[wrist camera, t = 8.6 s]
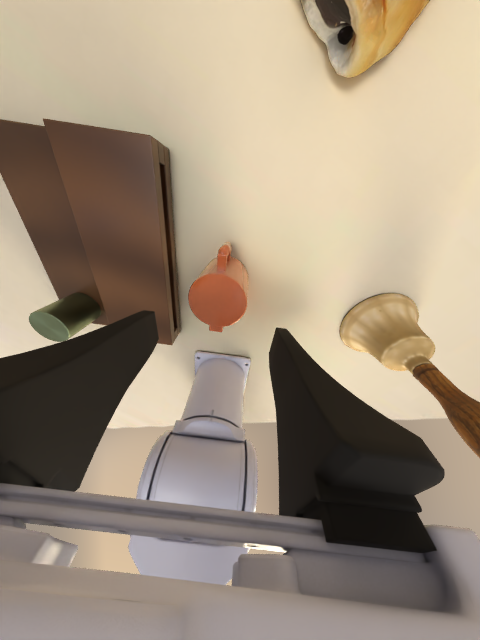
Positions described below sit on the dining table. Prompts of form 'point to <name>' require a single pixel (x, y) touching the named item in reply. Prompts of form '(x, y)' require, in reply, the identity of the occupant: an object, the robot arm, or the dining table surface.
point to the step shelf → (97, 215)
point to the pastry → (360, 29)
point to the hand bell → (409, 355)
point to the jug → (220, 291)
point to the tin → (65, 317)
